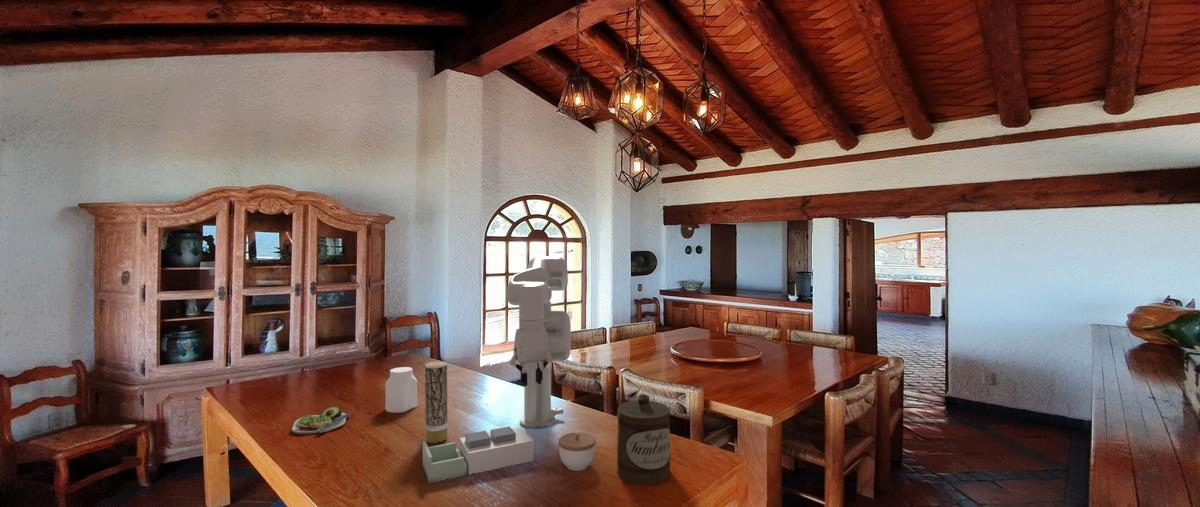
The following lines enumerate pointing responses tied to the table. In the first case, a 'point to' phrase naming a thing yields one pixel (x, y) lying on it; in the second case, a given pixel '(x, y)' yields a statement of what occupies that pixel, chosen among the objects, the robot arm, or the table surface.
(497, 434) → the slate tile back
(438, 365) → the bark-textured canister
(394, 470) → the table surface
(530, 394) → the robot arm
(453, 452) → the box
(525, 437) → the white rectangular block
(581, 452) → the lidded jar
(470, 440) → the slate tile front
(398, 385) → the jar
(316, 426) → the avocado toast plate
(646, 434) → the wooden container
